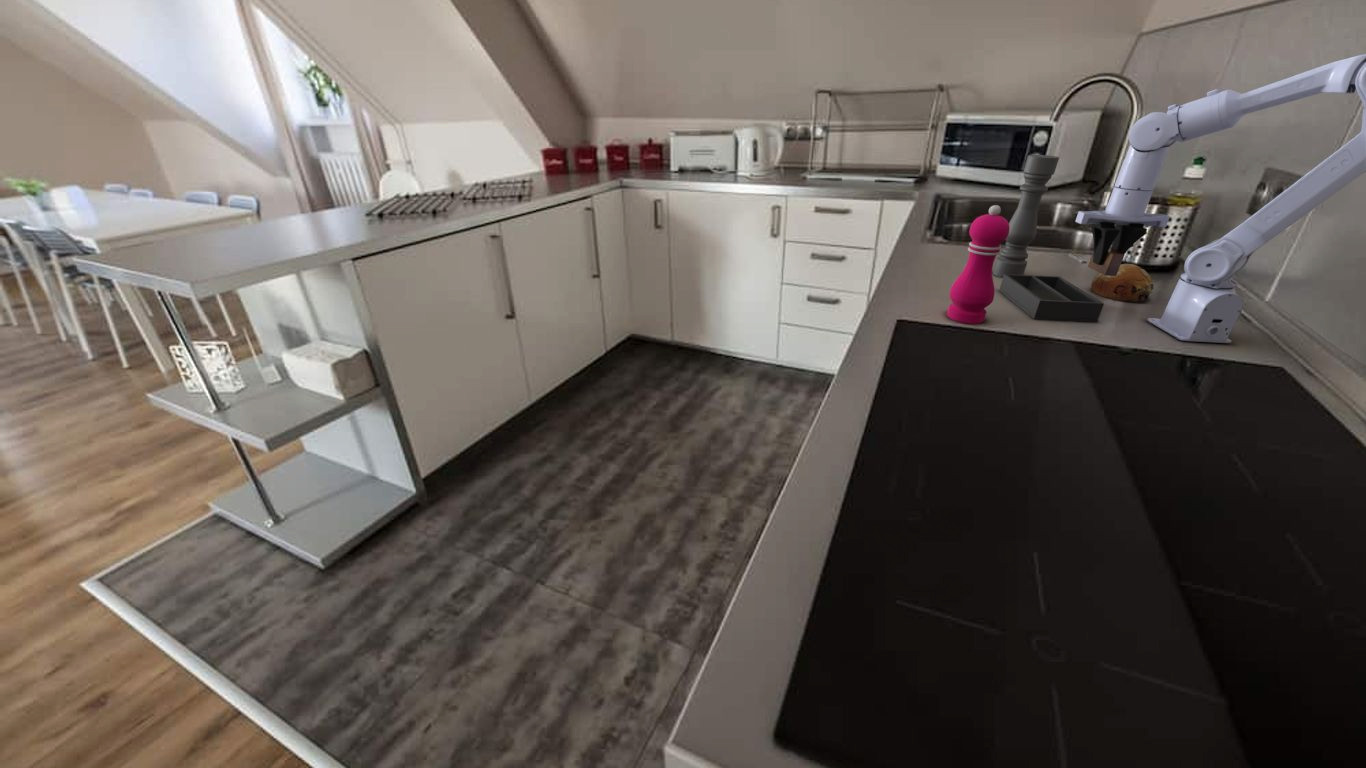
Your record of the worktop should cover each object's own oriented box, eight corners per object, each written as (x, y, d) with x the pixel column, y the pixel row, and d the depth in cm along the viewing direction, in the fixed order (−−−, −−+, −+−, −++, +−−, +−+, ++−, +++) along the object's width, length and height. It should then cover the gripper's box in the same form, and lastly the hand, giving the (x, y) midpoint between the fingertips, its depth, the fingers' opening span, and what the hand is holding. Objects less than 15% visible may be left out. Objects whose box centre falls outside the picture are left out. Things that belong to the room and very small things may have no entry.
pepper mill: (991, 326, 98) (1027, 210, 89) (948, 323, 100) (978, 208, 90) (981, 312, 105) (1012, 202, 95) (940, 309, 106) (967, 200, 96)
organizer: (1096, 322, 101) (1104, 303, 99) (1033, 319, 102) (1040, 300, 100) (1054, 293, 115) (1059, 276, 113) (998, 290, 116) (1003, 273, 114)
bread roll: (1129, 306, 119) (1132, 268, 119) (1166, 302, 109) (1170, 260, 109) (1080, 304, 120) (1083, 266, 120) (1112, 299, 110) (1116, 258, 109)
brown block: (1117, 276, 103) (1126, 254, 101) (1103, 275, 103) (1111, 254, 101) (1079, 256, 115) (1086, 236, 113) (1067, 255, 115) (1074, 236, 113)
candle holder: (986, 272, 127) (1019, 155, 115) (1004, 269, 130) (1039, 154, 118) (1010, 280, 122) (1047, 158, 111) (1029, 277, 125) (1067, 157, 113)
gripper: (1162, 186, 101) (1132, 259, 108) (1078, 183, 102) (1053, 256, 109) (1189, 192, 95) (1155, 270, 102) (1099, 189, 96) (1072, 266, 103)
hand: (1104, 263), depth 105 cm, fingers closed on brown block, 2 cm apart
